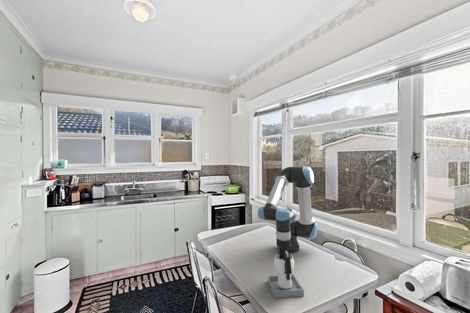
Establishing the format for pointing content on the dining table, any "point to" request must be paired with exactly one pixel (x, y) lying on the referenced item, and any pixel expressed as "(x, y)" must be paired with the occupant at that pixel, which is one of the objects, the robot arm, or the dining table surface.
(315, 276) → the dining table surface
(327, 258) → the dining table surface
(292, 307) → the dining table surface
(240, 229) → the dining table surface
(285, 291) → the tray
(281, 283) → the cup
